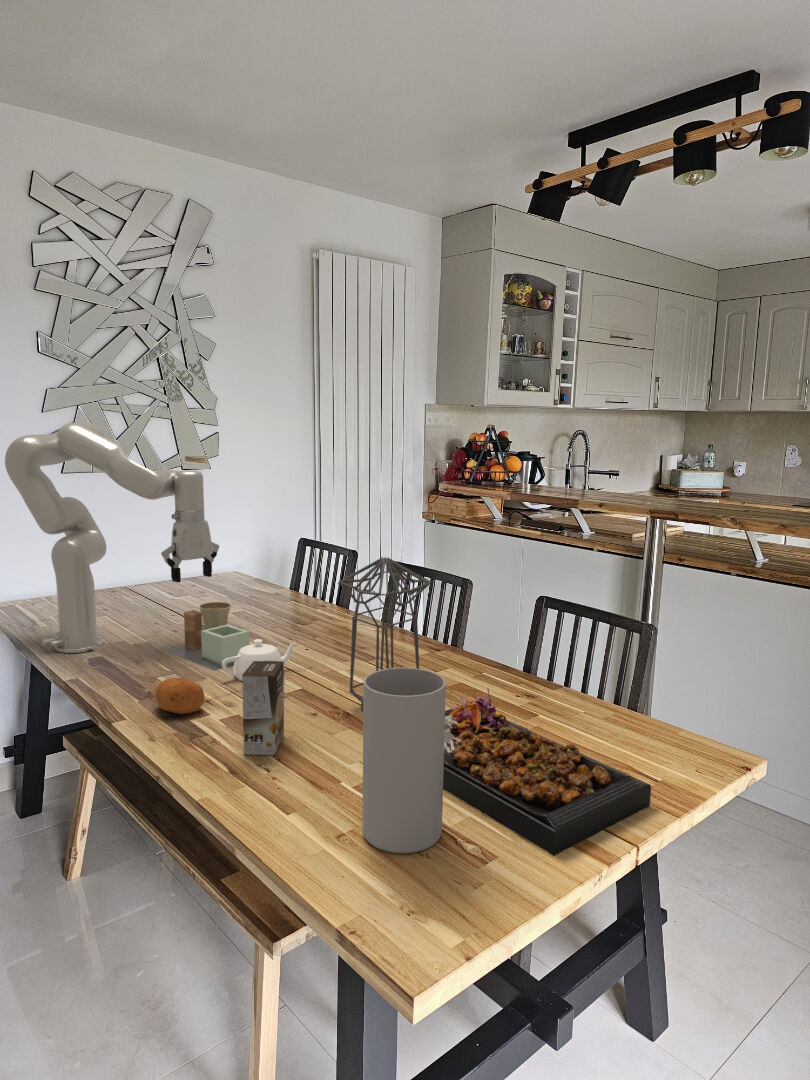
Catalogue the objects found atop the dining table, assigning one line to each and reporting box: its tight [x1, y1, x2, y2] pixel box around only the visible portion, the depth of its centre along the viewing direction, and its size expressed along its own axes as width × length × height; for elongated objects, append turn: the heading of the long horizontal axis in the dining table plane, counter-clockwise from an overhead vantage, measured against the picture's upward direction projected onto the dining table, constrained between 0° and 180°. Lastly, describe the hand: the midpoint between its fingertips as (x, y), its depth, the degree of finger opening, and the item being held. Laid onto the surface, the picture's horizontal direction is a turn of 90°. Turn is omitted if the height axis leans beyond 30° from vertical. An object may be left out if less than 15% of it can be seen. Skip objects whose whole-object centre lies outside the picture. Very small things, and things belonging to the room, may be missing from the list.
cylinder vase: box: [361, 667, 447, 855], centre depth 114 cm, size 12×12×25 cm
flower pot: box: [198, 601, 232, 630], centre depth 221 cm, size 9×9×9 cm
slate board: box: [163, 644, 233, 672], centre depth 200 cm, size 14×24×1 cm, turn 49°
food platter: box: [443, 687, 652, 857], centre depth 135 cm, size 45×25×10 cm, turn 38°
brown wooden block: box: [183, 609, 203, 650], centre depth 204 cm, size 3×4×10 cm
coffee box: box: [241, 661, 285, 756], centre depth 146 cm, size 9×6×16 cm
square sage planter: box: [201, 624, 251, 668], centre depth 194 cm, size 8×9×8 cm
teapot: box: [221, 638, 297, 682], centre depth 183 cm, size 20×12×10 cm, turn 125°
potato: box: [154, 677, 205, 715], centre depth 163 cm, size 9×11×8 cm
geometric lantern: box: [337, 556, 431, 711], centre depth 163 cm, size 16×16×35 cm
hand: (192, 578), depth 202 cm, fingers open, 9 cm apart
